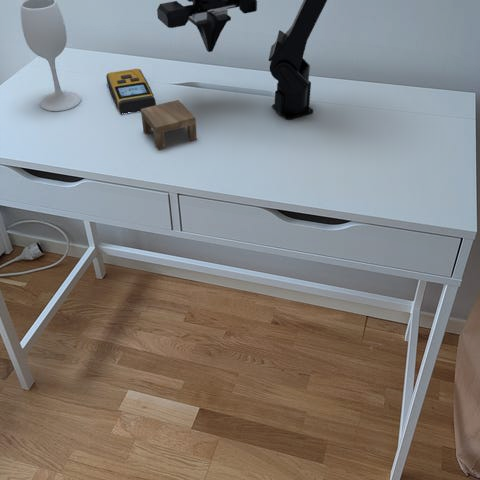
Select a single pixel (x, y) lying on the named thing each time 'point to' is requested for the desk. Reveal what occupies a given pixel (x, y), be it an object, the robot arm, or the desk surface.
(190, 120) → the footstool
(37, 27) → the wineglass
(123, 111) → the electronic device
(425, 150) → the desk surface
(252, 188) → the desk surface
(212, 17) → the robot arm
